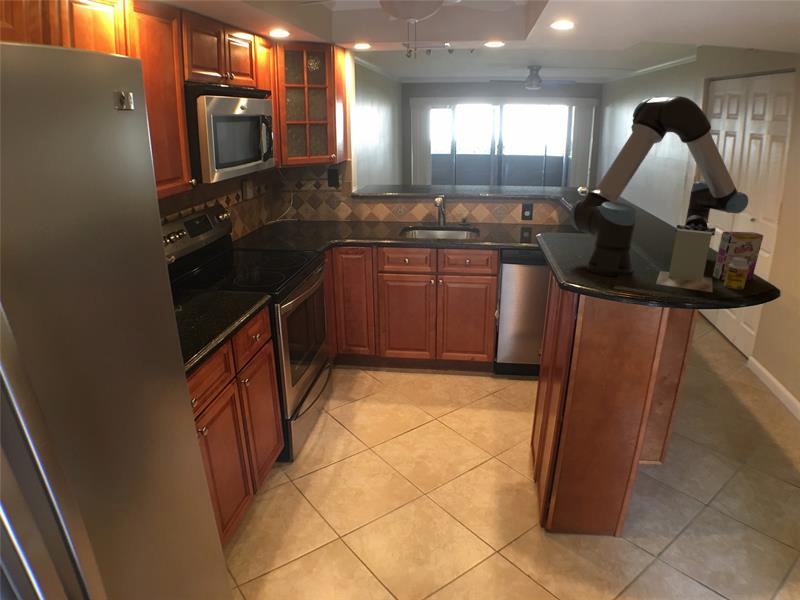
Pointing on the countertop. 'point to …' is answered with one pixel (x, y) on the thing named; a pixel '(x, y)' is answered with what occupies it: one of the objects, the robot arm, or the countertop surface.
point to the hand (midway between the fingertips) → (694, 238)
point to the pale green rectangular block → (690, 255)
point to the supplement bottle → (736, 274)
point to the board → (685, 282)
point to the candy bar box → (737, 251)
